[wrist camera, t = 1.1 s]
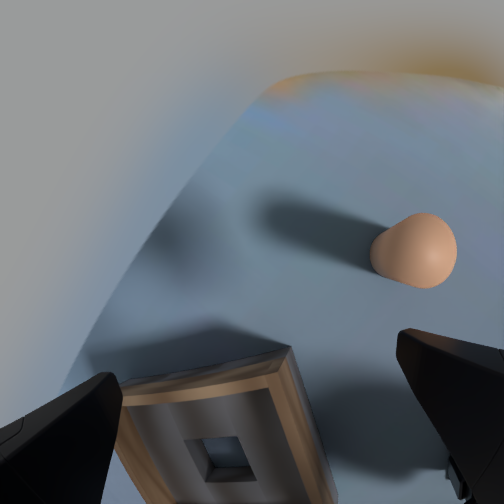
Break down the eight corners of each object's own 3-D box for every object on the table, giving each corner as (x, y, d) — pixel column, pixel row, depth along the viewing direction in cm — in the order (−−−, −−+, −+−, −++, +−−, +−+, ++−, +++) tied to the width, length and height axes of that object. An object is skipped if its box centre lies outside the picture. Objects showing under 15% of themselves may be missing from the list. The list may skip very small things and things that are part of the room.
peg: (405, 223, 19) (442, 203, 12) (420, 269, 19) (464, 273, 11) (363, 239, 20) (380, 226, 13) (377, 285, 20) (403, 299, 12)
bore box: (291, 346, 21) (277, 372, 16) (338, 494, 19) (334, 535, 14) (128, 379, 25) (91, 398, 20) (189, 502, 23) (166, 531, 18)
